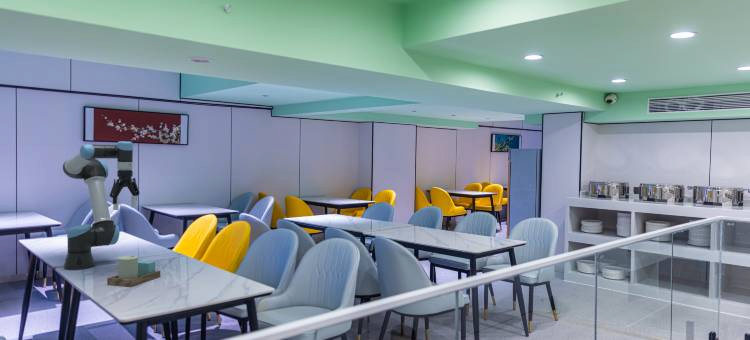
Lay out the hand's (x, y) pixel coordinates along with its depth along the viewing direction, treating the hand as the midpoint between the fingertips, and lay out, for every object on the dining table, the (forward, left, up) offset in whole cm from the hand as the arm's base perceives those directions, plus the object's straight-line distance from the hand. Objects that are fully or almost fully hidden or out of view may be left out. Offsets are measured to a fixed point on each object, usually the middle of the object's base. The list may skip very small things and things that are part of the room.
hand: (125, 208), depth 287 cm
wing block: (+18, -8, -34) cm, 39 cm away
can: (+18, -19, -34) cm, 43 cm away
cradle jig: (+18, -14, -35) cm, 42 cm away
